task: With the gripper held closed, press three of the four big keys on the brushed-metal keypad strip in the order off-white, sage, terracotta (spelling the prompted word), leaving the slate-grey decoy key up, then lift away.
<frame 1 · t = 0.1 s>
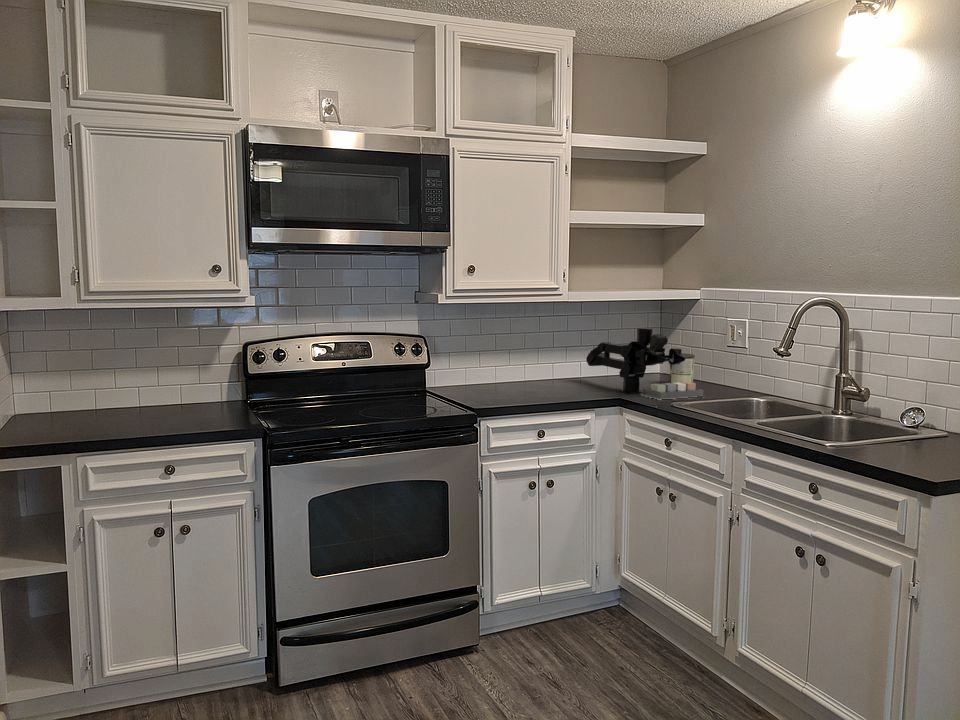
hand: (675, 359, 297), 17 cm above the worktop, tool horizontal, fingers open, 9 cm apart
key T: (688, 386, 317), point 4 cm above the worktop, slide at 0.0 cm
key A: (658, 388, 310), point 4 cm above the worktop, slide at 0.0 cm
key X: (668, 387, 312), point 4 cm above the worktop, slide at 0.0 cm
key C: (678, 387, 314), point 4 cm above the worktop, slide at 0.0 cm
coffee can: (680, 387, 341), on the worktop
keypad board: (672, 396, 314), on the worktop
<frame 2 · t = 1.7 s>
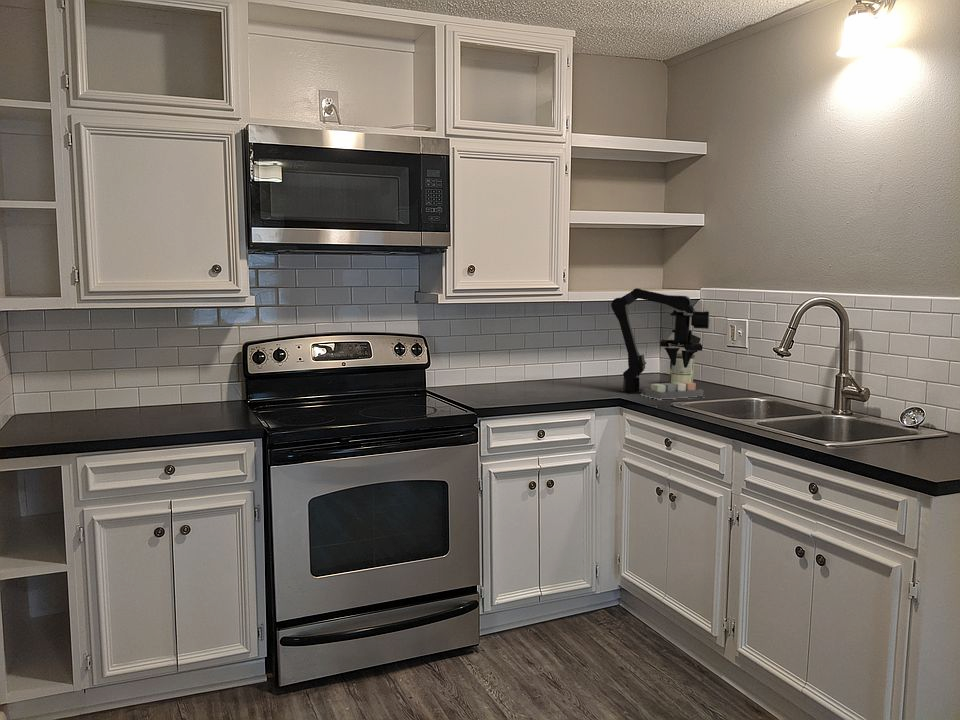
hand: (679, 366, 313), 12 cm above the worktop, tool pointing down, fingers open, 6 cm apart
nothing on the worktop moved.
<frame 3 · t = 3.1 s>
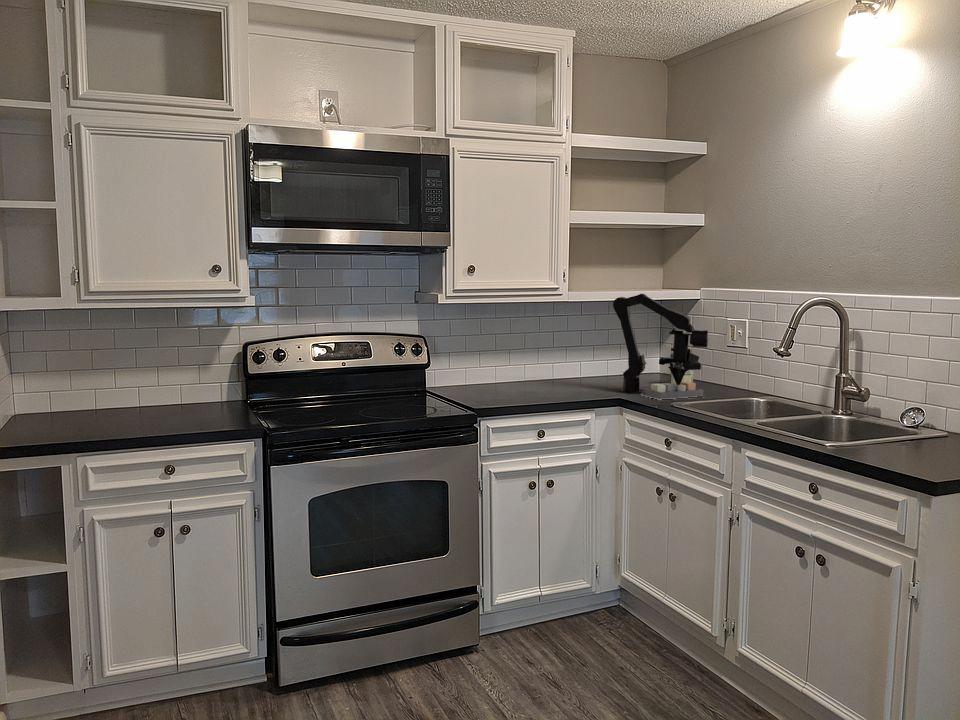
hand: (678, 384, 314), 5 cm above the worktop, tool pointing down, fingers closed, pressing on key C
key C: (678, 388, 314), point 3 cm above the worktop, slide at 0.6 cm, touching gripper
everything else where it was.
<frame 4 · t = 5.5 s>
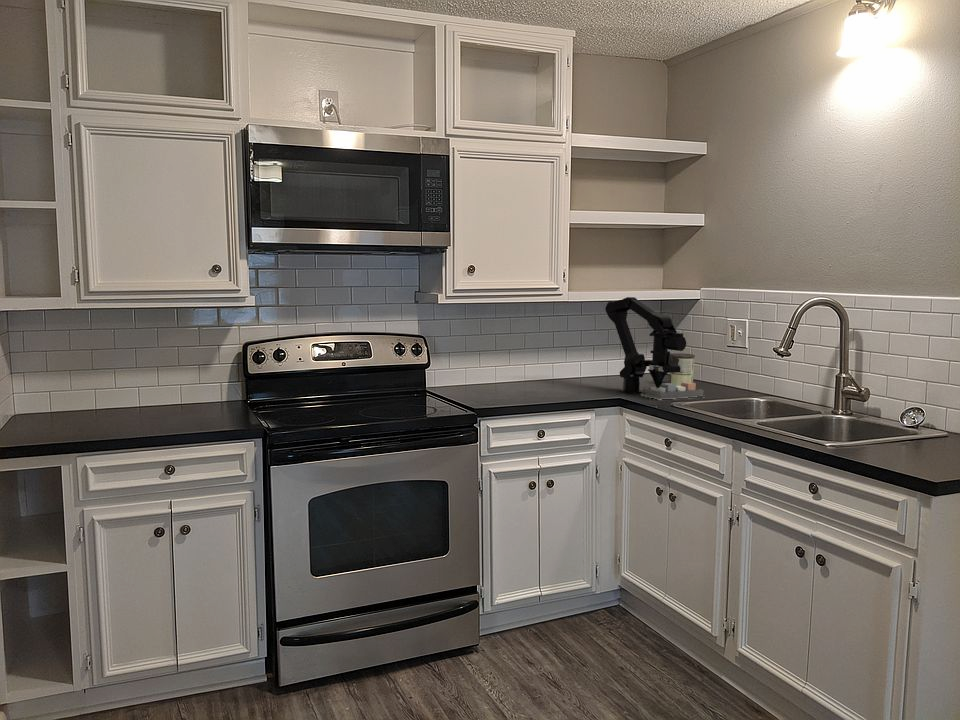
hand: (658, 387, 310), 4 cm above the worktop, tool pointing down, fingers closed, pressing on key A
key A: (657, 391, 310), point 2 cm above the worktop, slide at 1.2 cm, touching gripper
key C: (678, 390, 315), point 2 cm above the worktop, slide at 1.3 cm
everything else where it was.
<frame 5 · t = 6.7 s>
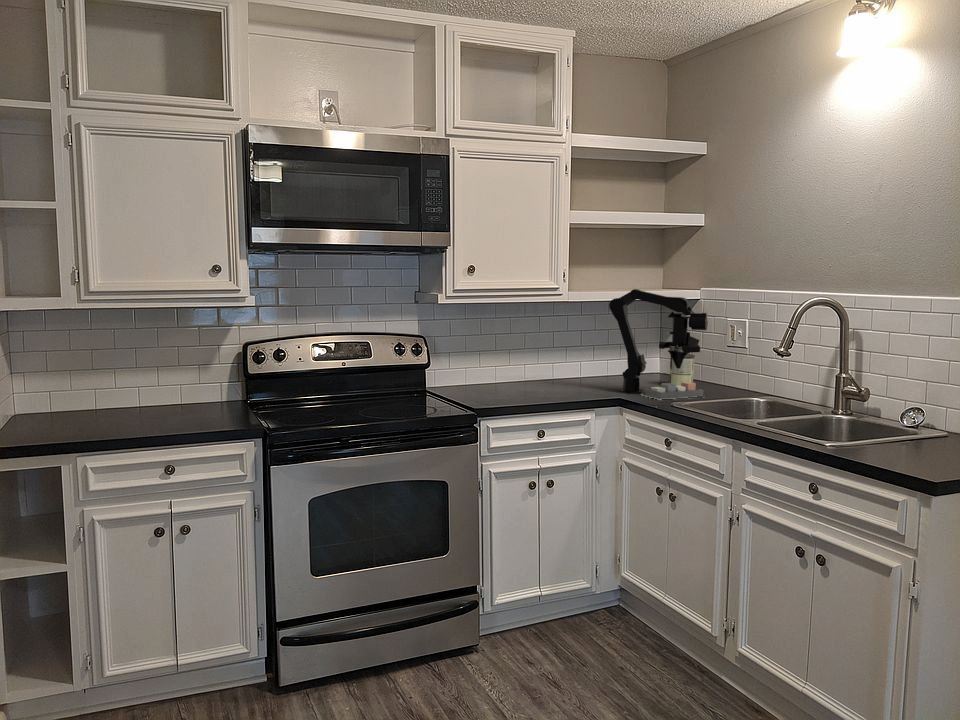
hand: (678, 368, 312), 11 cm above the worktop, tool pointing down, fingers closed
key A: (657, 391, 310), point 2 cm above the worktop, slide at 1.3 cm
everything else where it was.
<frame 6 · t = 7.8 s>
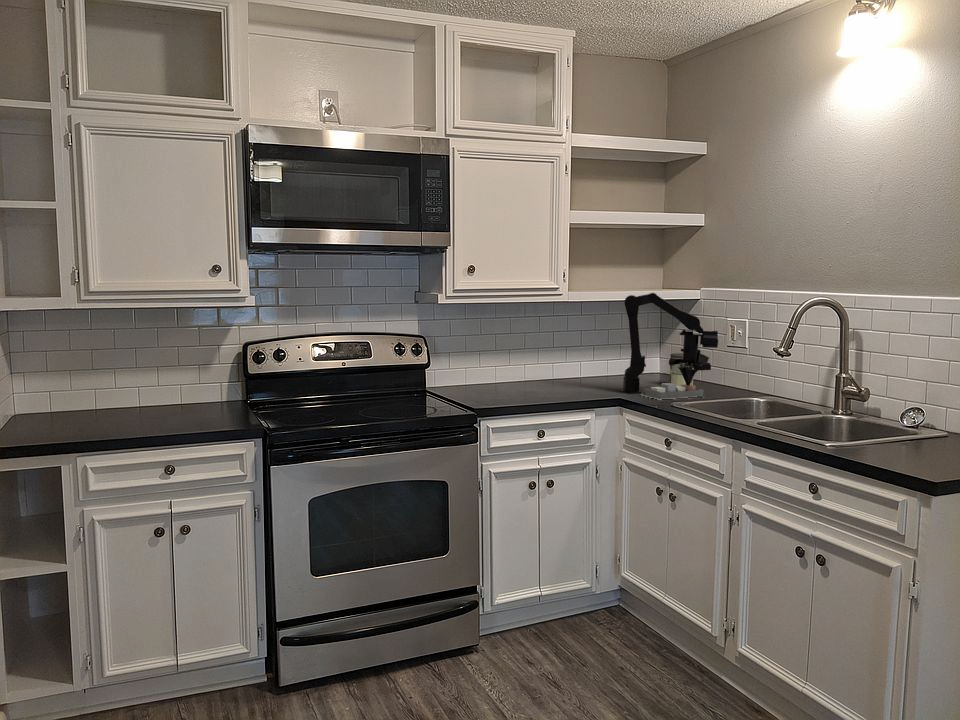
hand: (688, 385, 317), 4 cm above the worktop, tool pointing down, fingers closed, pressing on key T
key T: (688, 388, 317), point 3 cm above the worktop, slide at 0.9 cm, touching gripper
everything else where it was.
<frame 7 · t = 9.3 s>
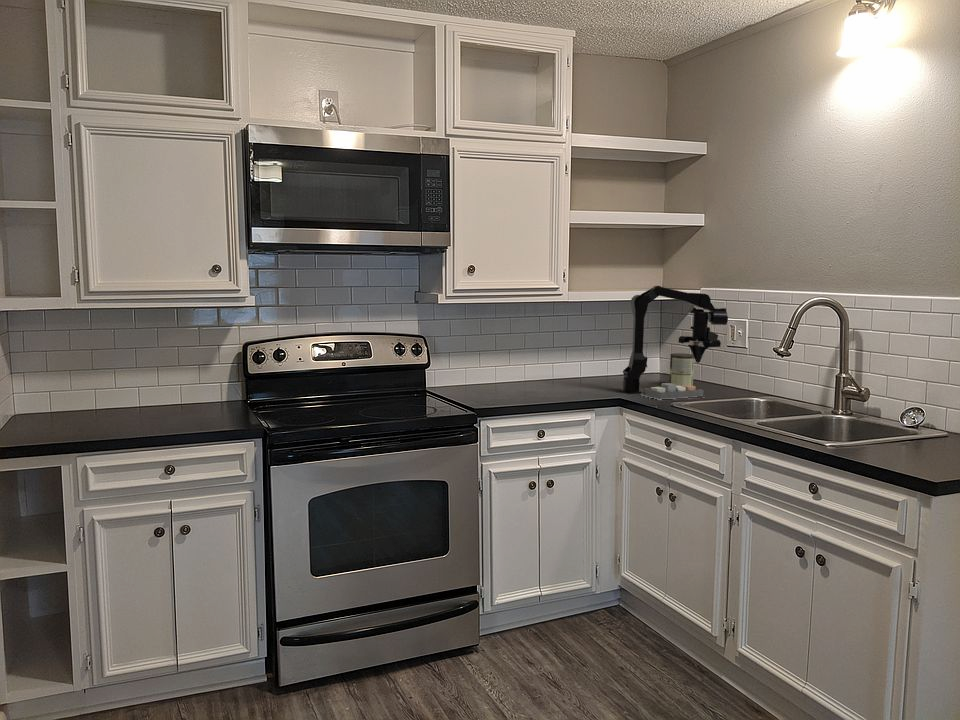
hand: (697, 362, 320), 13 cm above the worktop, tool pointing down, fingers closed
key T: (688, 389, 317), point 2 cm above the worktop, slide at 1.3 cm
everything else where it was.
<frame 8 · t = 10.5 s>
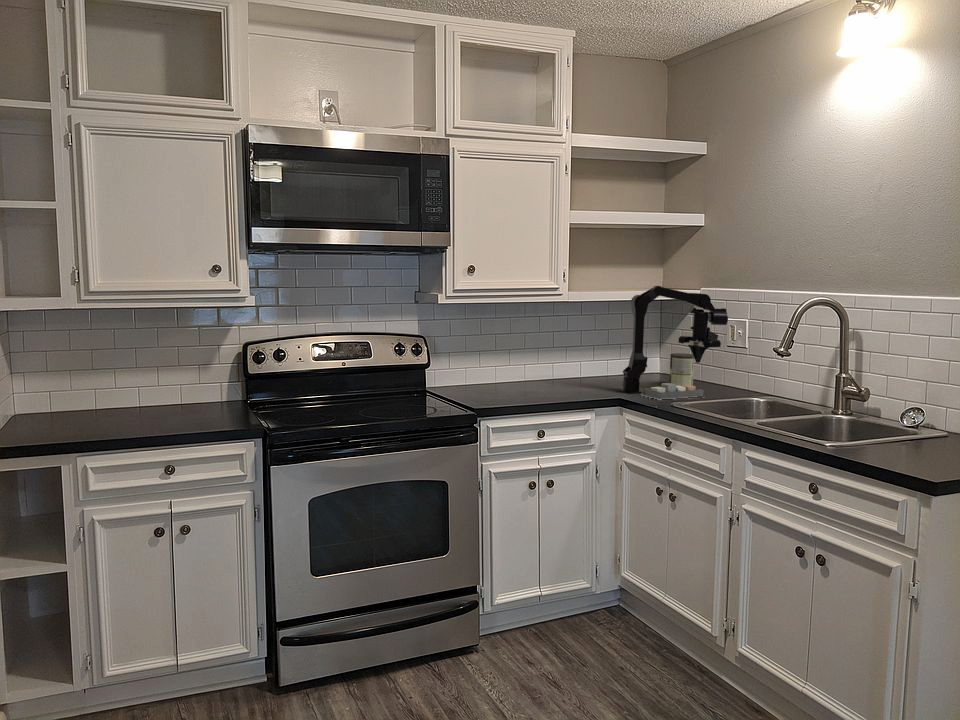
hand: (697, 362, 320), 13 cm above the worktop, tool pointing down, fingers closed
nothing on the worktop moved.
at the end: key C slide at 1.3 cm; key A slide at 1.3 cm; key T slide at 1.3 cm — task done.
